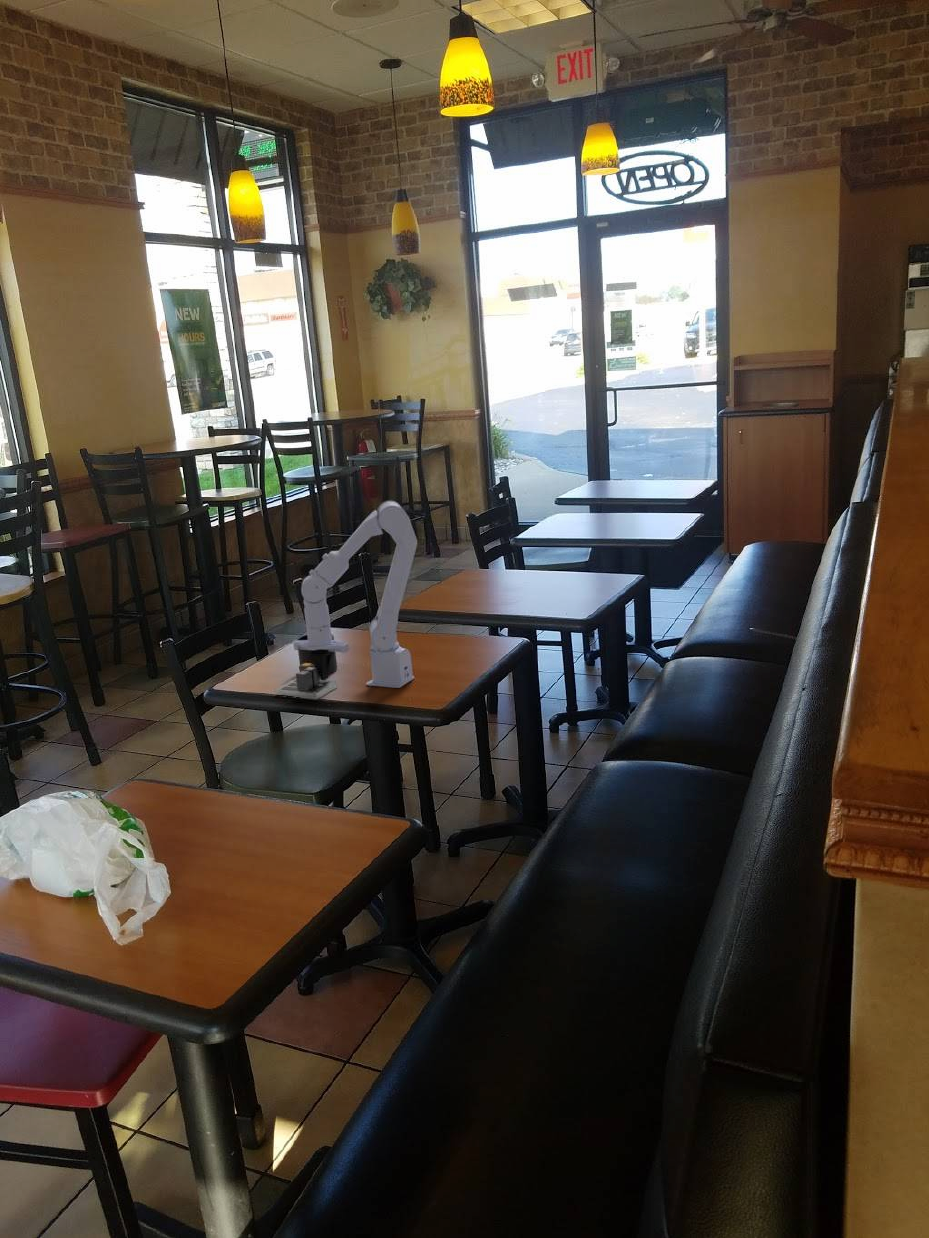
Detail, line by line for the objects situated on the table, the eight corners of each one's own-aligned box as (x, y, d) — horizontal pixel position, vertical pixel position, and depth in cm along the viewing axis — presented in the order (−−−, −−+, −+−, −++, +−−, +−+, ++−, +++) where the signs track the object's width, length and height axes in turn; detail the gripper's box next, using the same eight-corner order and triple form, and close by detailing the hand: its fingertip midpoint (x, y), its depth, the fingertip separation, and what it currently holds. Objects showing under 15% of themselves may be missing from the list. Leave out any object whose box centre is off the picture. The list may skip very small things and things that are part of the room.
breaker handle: (316, 679, 236) (314, 663, 235) (311, 682, 234) (309, 666, 233) (305, 678, 237) (303, 662, 236) (300, 681, 235) (298, 665, 234)
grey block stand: (337, 687, 234) (334, 663, 233) (316, 699, 227) (313, 675, 225) (297, 683, 240) (294, 660, 238) (275, 695, 232) (272, 671, 230)
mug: (345, 662, 254) (342, 629, 252) (330, 676, 243) (326, 642, 241) (312, 662, 256) (308, 630, 254) (295, 677, 245) (291, 643, 243)
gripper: (283, 628, 229) (290, 682, 233) (334, 631, 223) (341, 686, 227) (300, 620, 235) (307, 673, 239) (350, 623, 229) (356, 676, 233)
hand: (324, 679), depth 233 cm, fingers closed, pressing on grey block stand
